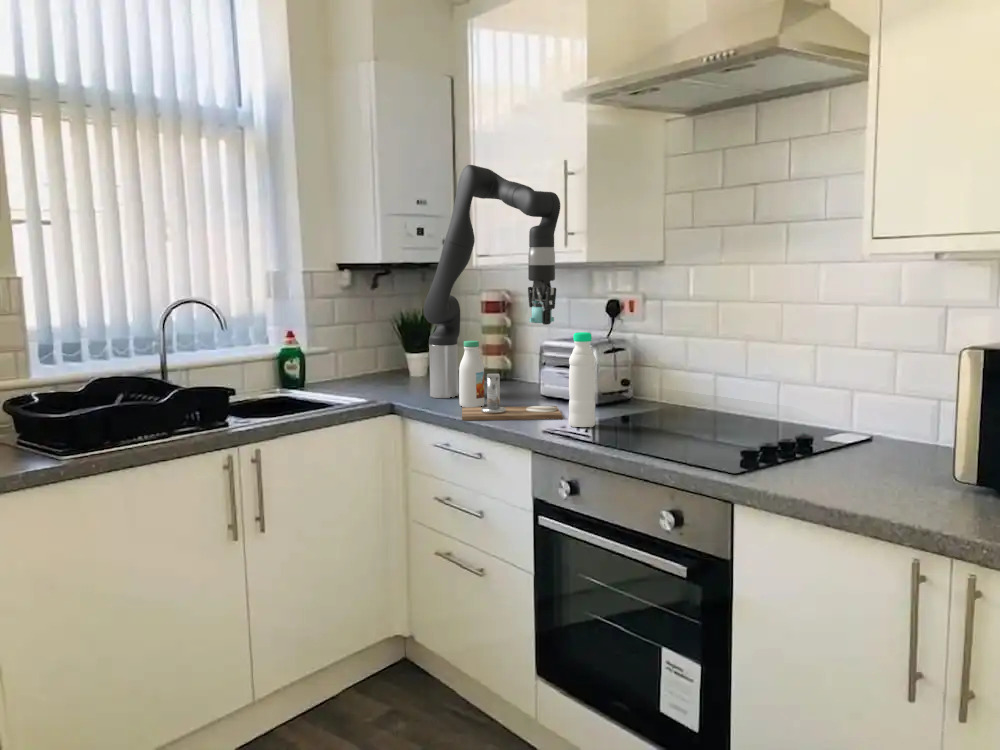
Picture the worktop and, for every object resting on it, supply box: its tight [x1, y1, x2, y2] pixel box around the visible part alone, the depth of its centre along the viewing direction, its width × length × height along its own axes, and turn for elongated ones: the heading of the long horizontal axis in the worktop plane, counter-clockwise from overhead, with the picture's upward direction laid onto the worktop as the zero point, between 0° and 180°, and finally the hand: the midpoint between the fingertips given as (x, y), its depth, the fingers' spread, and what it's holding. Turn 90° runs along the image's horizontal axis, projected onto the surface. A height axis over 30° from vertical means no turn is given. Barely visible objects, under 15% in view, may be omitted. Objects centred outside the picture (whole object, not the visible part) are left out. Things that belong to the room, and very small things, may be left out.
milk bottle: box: [458, 340, 485, 408], centre depth 242 cm, size 8×8×20 cm
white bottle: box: [568, 331, 597, 428], centre depth 210 cm, size 7×7×25 cm
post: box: [481, 373, 506, 414], centre depth 226 cm, size 7×7×11 cm
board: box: [461, 405, 563, 422], centre depth 228 cm, size 14×28×2 cm, turn 93°
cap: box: [528, 303, 555, 324], centre depth 225 cm, size 7×6×5 cm
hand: (541, 323), depth 226 cm, fingers closed on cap, 5 cm apart
